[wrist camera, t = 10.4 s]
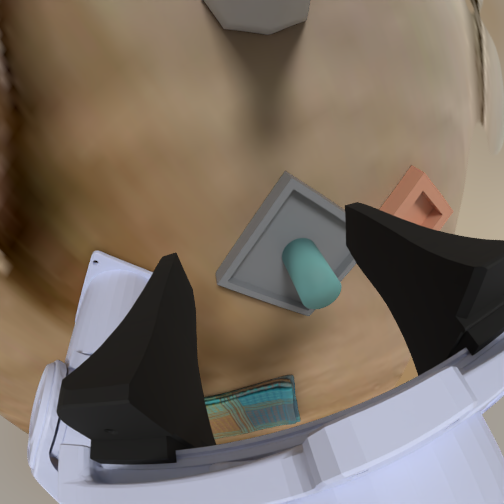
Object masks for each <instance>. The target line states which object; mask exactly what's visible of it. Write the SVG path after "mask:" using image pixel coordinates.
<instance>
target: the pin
mask: <svg viewBox="0 0 504 504" xmlns="http://www.w3.org/2000/svg"><path fill="white" fill-rule="evenodd" d="M282 260H283V263H284V265H285V267H286V269H287V271H288V273H289V275H290V277H291V280H292V282H293V284H294V286H295V288H296V290H297V292H298V294H299V297H300V299H301V301H302V303H303V305H304V306H305V307H307V308H309V309H320V308H324V307H326V306H328V305H330V304H331V303H332V302H334V301H335V300H336V298H337V297H338V296H339V294H340V292H341V283H340V281H339V280H338V278H337V277H336V275H335V274H334V272H333V271H332V269H331V267H330V266H329V264H328V263H327V261H326V260H325V258H324V257H323V255H322V254H321V252H320V251H319V249H318V248H317V246H316V245H315V244H314V242H313V241H312V240H310V239H307V238H298V239H295V240H293V241H291V242H290V243H289V244H288V245H287V246H286V247H285V248H284V250H283V253H282Z"/></svg>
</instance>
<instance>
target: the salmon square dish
mask: <svg viewBox="0 0 504 504" xmlns="http://www.w3.org/2000/svg"><path fill="white" fill-rule="evenodd" d="M379 210H381V211H384V212H386V213H389V214H391V215H394V216H396V217H399V218H401V219H404V220H406V221H409V222H412V223H415V224H418V225H421V226H424V227H427V228H430V229H434V230H437V231H440V229H441V228H442V226H443V225H444V224H445V222H446V221H447V220H448V218H449V217H450V215H451V214H452V213H453V210H452V209H451V207H450V206H449V204H448V203H447V202H446V200H445V199H444V197H443V196H442V195H441V193H440V192H439V191H438V189H437V188H436V187H435V185H434V184H433V183H432V182H431V180H430V179H429V178H428V176H427V175H426V174H425V173H424V172H423V171H421V170H419V169H417V168H416V167H414V166H412V165H411V167H410V168H409V170H408V171H407V172H406V174H405V175H404V177H403V178H402V179H401V181H400V182H399V184H398V185H397V186H396V188H395V189H394V190H393V192H392V193H391V194H390V196H389V197H388V198H387V200H386V201H385V202H384V204H383V205H382V206H381V208H380V209H379Z"/></svg>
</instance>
